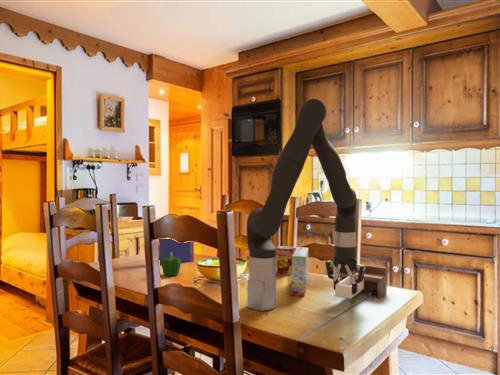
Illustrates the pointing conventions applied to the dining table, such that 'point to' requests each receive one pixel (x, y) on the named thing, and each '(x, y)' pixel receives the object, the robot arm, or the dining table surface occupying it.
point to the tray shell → (347, 288)
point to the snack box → (299, 271)
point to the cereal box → (176, 250)
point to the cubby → (372, 280)
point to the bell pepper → (171, 265)
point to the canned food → (284, 260)
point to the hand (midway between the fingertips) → (345, 292)
